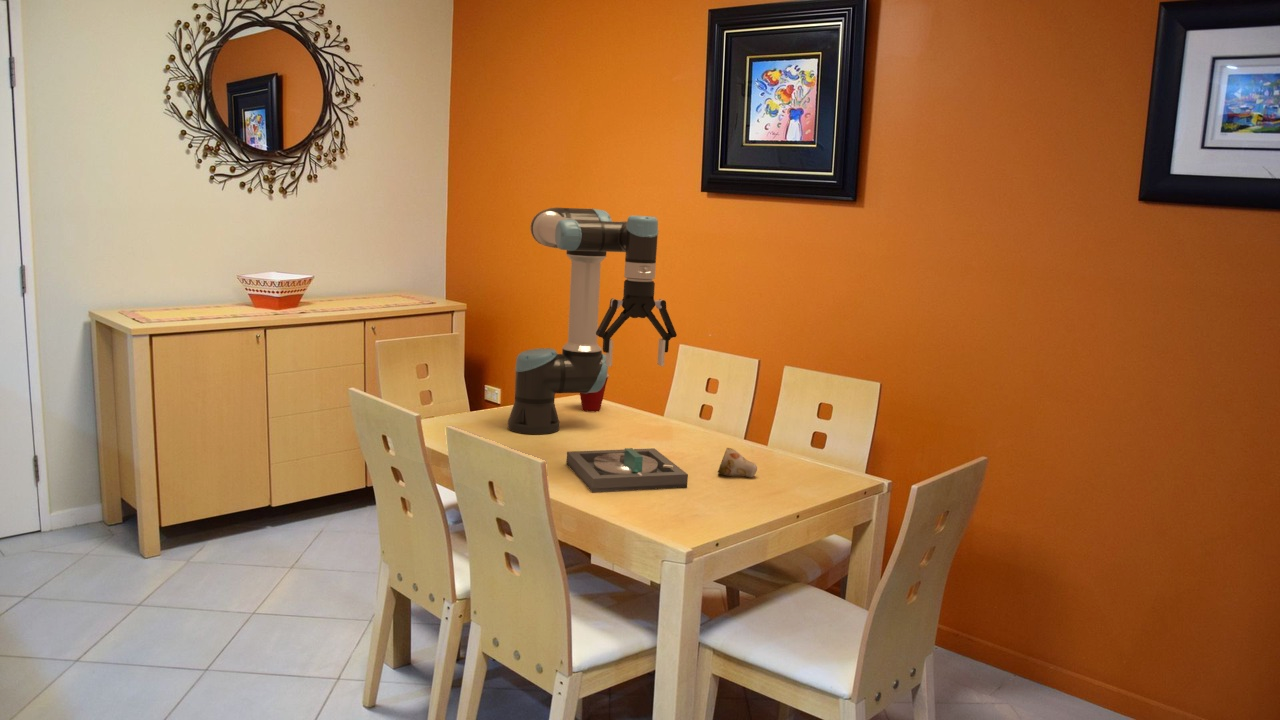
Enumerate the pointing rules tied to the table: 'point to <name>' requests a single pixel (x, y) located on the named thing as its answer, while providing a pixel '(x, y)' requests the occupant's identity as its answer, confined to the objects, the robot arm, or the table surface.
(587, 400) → the plastic cup
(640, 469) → the dial
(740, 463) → the beige spotted tapered lump
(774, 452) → the table surface
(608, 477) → the housing
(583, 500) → the table surface
